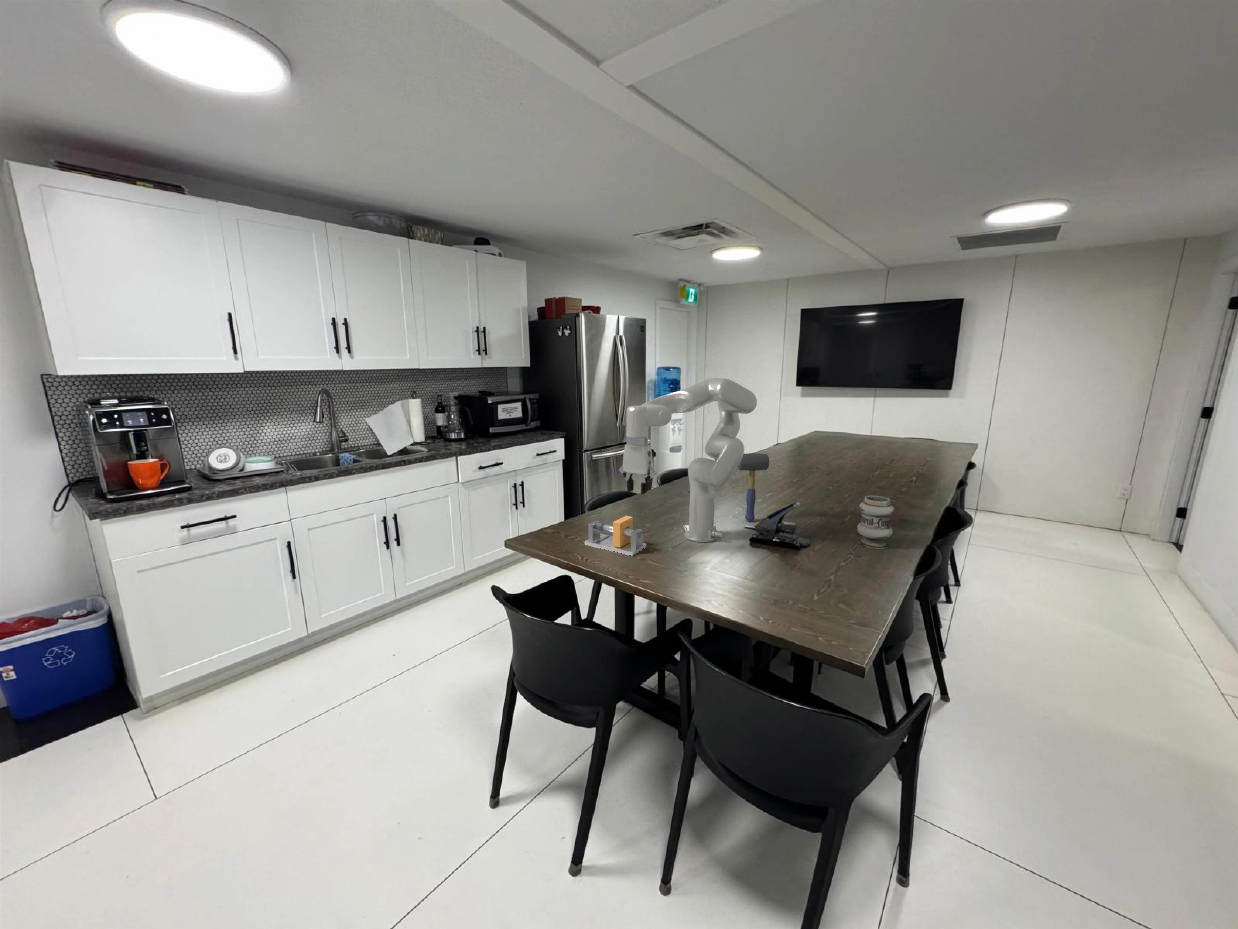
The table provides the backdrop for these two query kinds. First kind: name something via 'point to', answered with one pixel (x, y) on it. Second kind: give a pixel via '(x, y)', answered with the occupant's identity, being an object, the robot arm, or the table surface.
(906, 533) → the table surface
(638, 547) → the pipe stand
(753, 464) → the rubber mallet
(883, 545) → the apothecary jar
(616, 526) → the collar
